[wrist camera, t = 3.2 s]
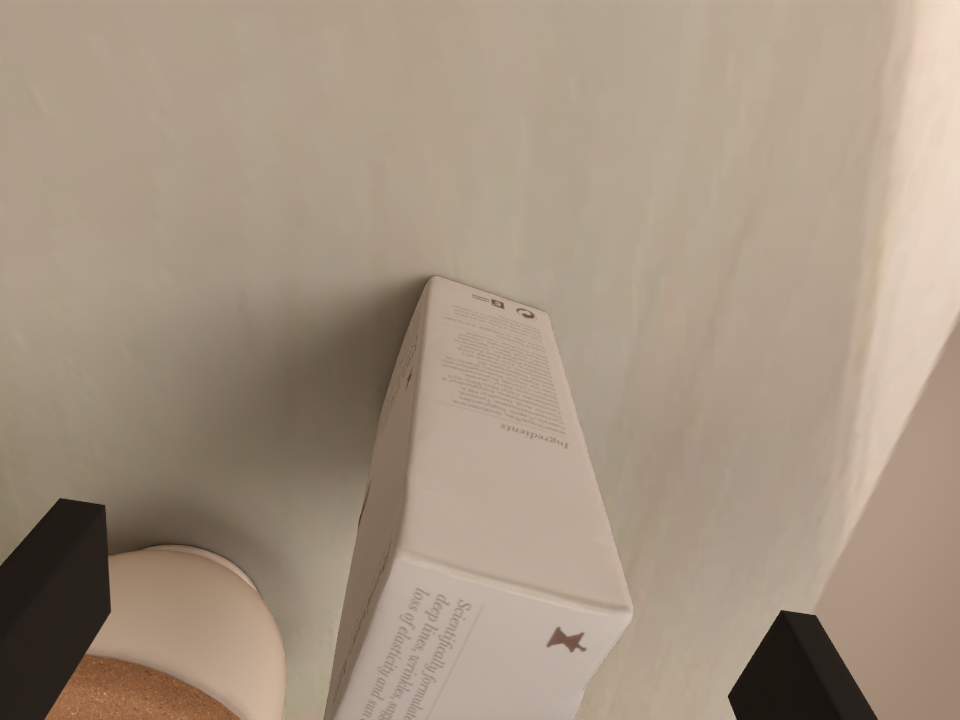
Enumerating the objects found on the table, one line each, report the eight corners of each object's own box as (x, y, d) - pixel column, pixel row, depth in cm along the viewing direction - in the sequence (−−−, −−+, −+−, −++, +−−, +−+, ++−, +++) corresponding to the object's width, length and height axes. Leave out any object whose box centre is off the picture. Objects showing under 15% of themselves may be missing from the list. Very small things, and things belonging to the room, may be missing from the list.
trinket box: (328, 684, 29) (269, 946, 21) (91, 684, 29) (-65, 949, 20) (301, 498, 24) (211, 743, 16) (16, 496, 24) (-230, 744, 16)
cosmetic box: (426, 268, 20) (374, 540, 9) (557, 311, 21) (651, 609, 10) (375, 424, 23) (288, 778, 12) (493, 457, 23) (512, 819, 13)
